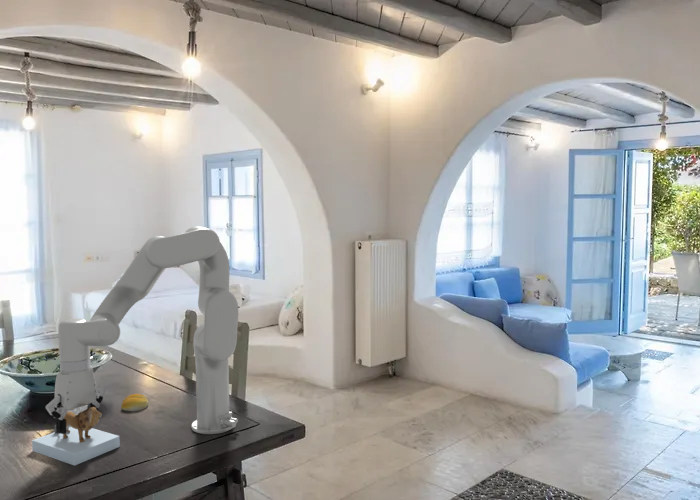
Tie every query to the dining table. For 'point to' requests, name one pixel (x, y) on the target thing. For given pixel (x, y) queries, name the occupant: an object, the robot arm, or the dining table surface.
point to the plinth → (75, 445)
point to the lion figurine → (82, 422)
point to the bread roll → (134, 402)
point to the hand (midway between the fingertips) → (77, 427)
